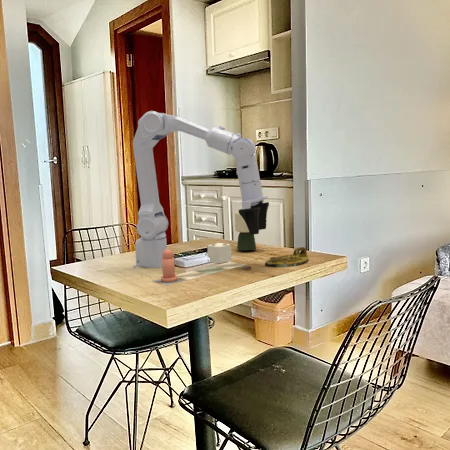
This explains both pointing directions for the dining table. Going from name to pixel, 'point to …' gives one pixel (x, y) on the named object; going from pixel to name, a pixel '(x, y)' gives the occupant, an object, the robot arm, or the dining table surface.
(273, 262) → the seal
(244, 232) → the character mug
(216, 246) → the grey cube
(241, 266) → the board
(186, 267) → the dining table surface
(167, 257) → the dildo
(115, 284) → the dining table surface
